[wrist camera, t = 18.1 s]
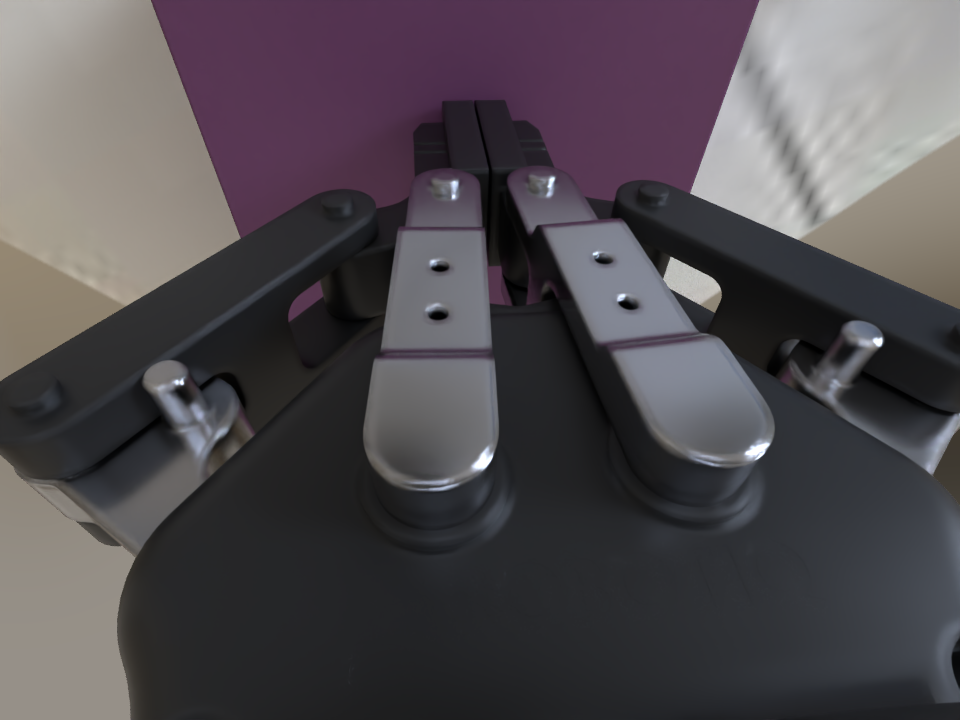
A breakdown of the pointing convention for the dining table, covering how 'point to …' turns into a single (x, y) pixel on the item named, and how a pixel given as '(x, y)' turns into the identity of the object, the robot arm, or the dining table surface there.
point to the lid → (446, 89)
